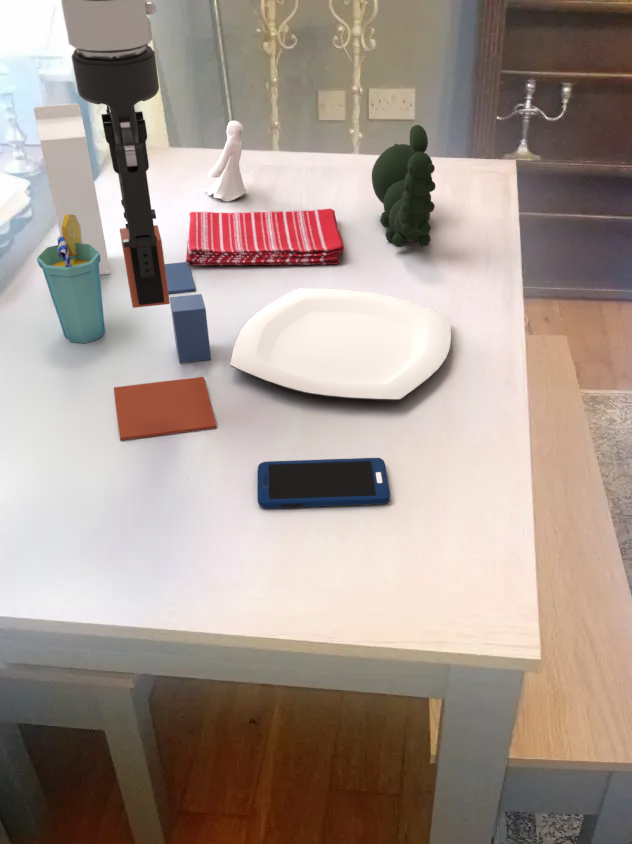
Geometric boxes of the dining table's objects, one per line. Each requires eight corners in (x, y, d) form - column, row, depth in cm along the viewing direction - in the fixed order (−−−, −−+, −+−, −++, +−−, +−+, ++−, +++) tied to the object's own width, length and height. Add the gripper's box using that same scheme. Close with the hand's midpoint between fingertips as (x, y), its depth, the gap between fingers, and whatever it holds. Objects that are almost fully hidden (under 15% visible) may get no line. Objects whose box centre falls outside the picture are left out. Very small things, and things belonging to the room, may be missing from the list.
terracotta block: (132, 308, 97) (122, 243, 92) (129, 291, 99) (119, 228, 94) (170, 304, 97) (161, 240, 92) (166, 287, 100) (157, 224, 95)
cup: (116, 360, 114) (94, 244, 104) (53, 366, 113) (25, 249, 103) (112, 309, 124) (92, 198, 114) (55, 314, 123) (29, 202, 112)
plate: (413, 428, 104) (414, 413, 103) (203, 384, 110) (202, 369, 109) (470, 322, 122) (472, 309, 120) (287, 290, 128) (286, 277, 127)
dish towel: (345, 265, 134) (345, 248, 132) (185, 267, 133) (184, 250, 131) (336, 220, 146) (336, 203, 144) (190, 221, 145) (188, 204, 143)
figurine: (239, 206, 150) (234, 129, 142) (195, 200, 152) (187, 124, 143) (254, 189, 155) (250, 114, 147) (212, 184, 157) (205, 109, 148)
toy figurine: (443, 271, 137) (420, 194, 153) (458, 143, 122) (430, 72, 138) (382, 273, 136) (365, 195, 152) (390, 145, 122) (369, 73, 138)
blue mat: (132, 297, 127) (131, 295, 126) (127, 270, 133) (126, 267, 133) (195, 291, 128) (195, 288, 128) (188, 264, 134) (187, 261, 134)
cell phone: (391, 504, 94) (391, 498, 93) (257, 509, 93) (257, 503, 92) (384, 462, 99) (384, 456, 98) (257, 466, 98) (257, 461, 98)
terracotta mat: (120, 440, 102) (119, 437, 102) (114, 390, 109) (113, 387, 109) (216, 428, 104) (216, 425, 103) (204, 379, 111) (203, 376, 111)
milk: (110, 274, 132) (82, 110, 116) (68, 279, 131) (34, 114, 115) (106, 256, 136) (78, 96, 120) (65, 261, 135) (32, 99, 119)
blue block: (179, 363, 114) (172, 311, 109) (176, 348, 117) (169, 296, 112) (211, 359, 115) (205, 308, 110) (206, 344, 117) (201, 293, 112)
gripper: (163, 70, 76) (193, 325, 93) (145, 22, 88) (174, 256, 104) (73, 76, 75) (120, 333, 91) (67, 26, 87) (109, 262, 103)
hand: (149, 291), depth 98 cm, fingers closed on terracotta block, 4 cm apart
